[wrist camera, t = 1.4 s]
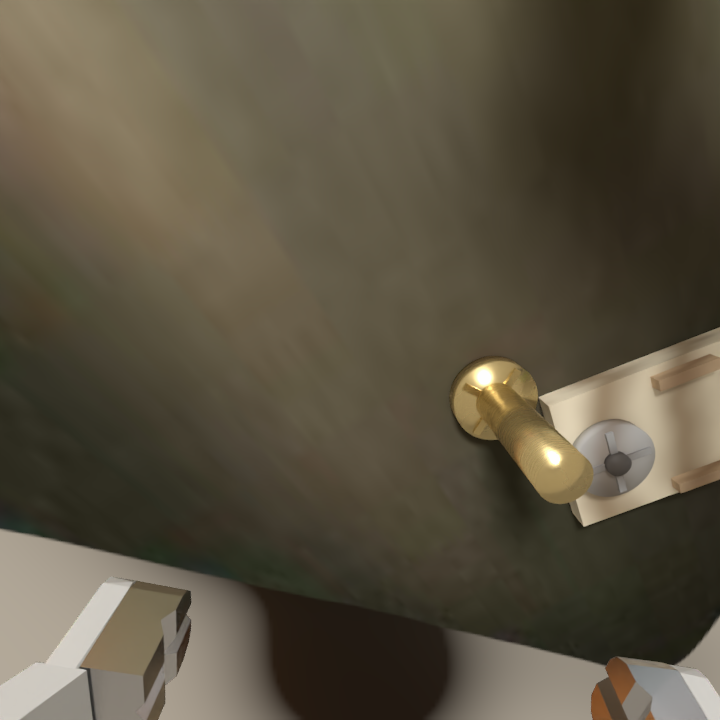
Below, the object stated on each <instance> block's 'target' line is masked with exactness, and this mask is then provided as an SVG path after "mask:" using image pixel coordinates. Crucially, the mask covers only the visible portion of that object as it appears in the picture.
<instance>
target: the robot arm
mask: <svg viewBox="0 0 720 720" xmlns="http://www.w3.org/2000/svg"><path fill="white" fill-rule="evenodd" d="M190 605H191V591H188V590H183V589H177V588H172V587H167V586H161V585H156V584H151V583H145V582H140V581H134V580H128V579H122V578H116V577H110V578H108V579H107V580H106V581H105V582H104V583H102V584H101V586H100V587H99V588H98V590H97V591H96V593H95V594H94V595H93V597H92V598H91V600H90V601H89V602H88V604H87V605H86V607H85V608H84V609H83V611H82V612H81V614H80V615H79V616H78V618H77V619H76V621H75V622H74V623H73V625H72V626H71V627H70V629H69V630H68V632H67V633H66V635H65V636H64V637H63V639H62V640H61V642H60V643H59V644H58V646H57V647H56V648H55V650H54V651H53V653H52V654H51V656H50V657H49V658H48V660H47V661H46V662H45V663H41V662H35V663H34V664H32V665H31V666H29V667H28V668H26V669H25V670H23V671H21V672H20V673H18V674H17V675H15V676H14V677H12V678H11V679H9V680H8V681H6V682H4V683H3V684H1V685H0V720H158V719H159V716H160V714H161V712H162V709H163V707H164V705H165V685H167V684H168V683H169V682H170V681H171V680H173V679H174V678H175V677H176V676H177V674H178V672H179V669H180V667H181V664H182V662H183V659H184V656H185V653H186V649H187V646H188V643H189V638H190V631H191V619H190V618H189V617H188V616H187V612H188V609H189V607H190ZM605 669H606V671H607V674H608V676H609V677H608V678H606V679H604V680H602V681H601V682H598V683H597V684H596V686H595V688H594V691H593V693H592V695H591V713H592V718H593V720H720V697H719V695H718V694H717V692H716V691H715V689H714V688H713V686H712V685H711V683H710V682H709V680H708V679H707V677H706V676H705V675H704V674H703V673H701V672H700V671H699V670H698V669H694V668H689V667H682V666H675V665H668V664H666V663H661V662H653V661H646V660H639V659H632V658H625V657H614V658H612V659H610V660H609V662H608V664H607V666H606V667H605Z"/></svg>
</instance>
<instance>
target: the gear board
mask: <svg viewBox="0 0 720 720" xmlns="http://www.w3.org/2000/svg"><path fill="white" fill-rule="evenodd" d="M538 398H539V401H540V405H541V408H542V412H543V415H544V418H545V420H546V421H547V422H548V423H549V424H551V425H552V426H553V427H554V428H555V429H556V430H557V431H558V432H559V433H560V434H561V435H562V436H563V437H564V438H565V439H566V440H568V441H569V442H570V443H571V444H572V445H573V446H574V447H575V448H576V449H577V450H578V451H579V452H580V453H581V454H582V455H583V456H585V457H586V458H587V459H588V460H589V462H590V463H591V465H592V467H593V472H594V476H593V481H592V484H591V486H590V487H589V489H588V490H587V491H586V493H585V494H583V495H582V496H581V497H580V498H578V499H576V500H574V501H572V502H569V503H570V506H571V510H572V513H573V514H574V515H575V517H576V518H577V519H578V520H579V522H580V523H581V524H582V525H583V526H584V527H585V526H587V525H590V524H593V523H596V522H598V521H601V520H604V519H607V518H609V517H612V516H615V515H618V514H620V513H623V512H626V511H628V510H631V509H634V508H637V507H639V506H642V505H645V504H648V503H650V502H653V501H656V500H659V499H661V498H664V497H667V496H670V495H672V494H675V493H678V492H680V493H684V492H686V491H689V490H692V489H695V488H697V487H700V486H703V485H706V484H708V483H711V482H714V481H717V480H719V479H720V327H719V328H716V329H714V330H711V331H708V332H706V333H703V334H701V335H698V336H695V337H693V338H690V339H688V340H685V341H682V342H680V343H677V344H675V345H672V346H670V347H667V348H664V349H662V350H659V351H657V352H654V353H651V354H649V355H646V356H644V357H641V358H638V359H636V360H633V361H631V362H628V363H625V364H623V365H620V366H618V367H615V368H613V369H610V370H607V371H605V372H602V373H600V374H597V375H594V376H592V377H589V378H587V379H584V380H581V381H579V382H576V383H574V384H571V385H568V386H566V387H563V388H561V389H558V390H556V391H553V392H550V393H548V394H545V395H543V396H540V397H538Z"/></svg>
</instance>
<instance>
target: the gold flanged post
mask: <svg viewBox="0 0 720 720" xmlns="http://www.w3.org/2000/svg"><path fill="white" fill-rule="evenodd" d="M537 400H538V393H537V387H536V384H535V382H534V380H533V378H532V376H531V375H530V374H529V373H528V372H527V371H526V370H525V369H523V368H522V367H521V366H520V365H518V364H517V363H516V362H514V361H512V360H510V359H508V358H505V357H500V356H487V357H483V358H480V359H477V360H475V361H473V362H471V363H469V364H468V365H466V366H465V367H464V368H463V369H462V370H461V371H460V372H459V373H458V375H457V376H456V378H455V379H454V381H453V384H452V386H451V390H450V406H451V409H452V412H453V414H454V416H455V417H456V419H457V420H458V422H459V424H460V425H461V426H462V428H463V429H464V430H465V431H466V432H468V433H469V434H471V435H472V436H474V437H477V438H480V439H485V440H499V441H500V442H501V444H502V445H503V446H504V448H505V449H506V450H507V452H508V453H509V454H510V456H511V457H512V458H513V460H514V461H515V462H516V464H517V465H518V466H519V468H520V469H521V470H522V472H523V473H524V474H525V476H526V477H527V478H528V480H529V481H530V482H531V484H532V485H533V486H534V488H535V489H536V490H537V492H538V493H539V494H540V496H541V497H542V498H544V499H545V500H546V501H548V502H551V503H555V504H564V503H569V502H572V501H574V500H576V499H578V498H580V497H581V496H582V495H583V494H585V493H586V491H587V490H588V489H589V487H590V486H591V484H592V481H593V476H594V472H593V467H592V465H591V463H590V462H589V460H588V459H587V458H586V457H585V456H583V455H582V454H581V453H580V452H579V451H578V450H577V449H576V448H575V447H574V446H573V445H572V444H571V443H570V442H569V441H568V440H566V439H565V438H564V437H563V436H562V435H561V434H560V433H559V432H558V431H557V430H556V429H555V428H554V427H553V426H552V425H551V424H549V423H548V422H547V421H546V420H545V419H544V418H543V417H542V416H541V415H540V414H539V413H538V412H537V411H536V410H535V409H536V406H537Z"/></svg>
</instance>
